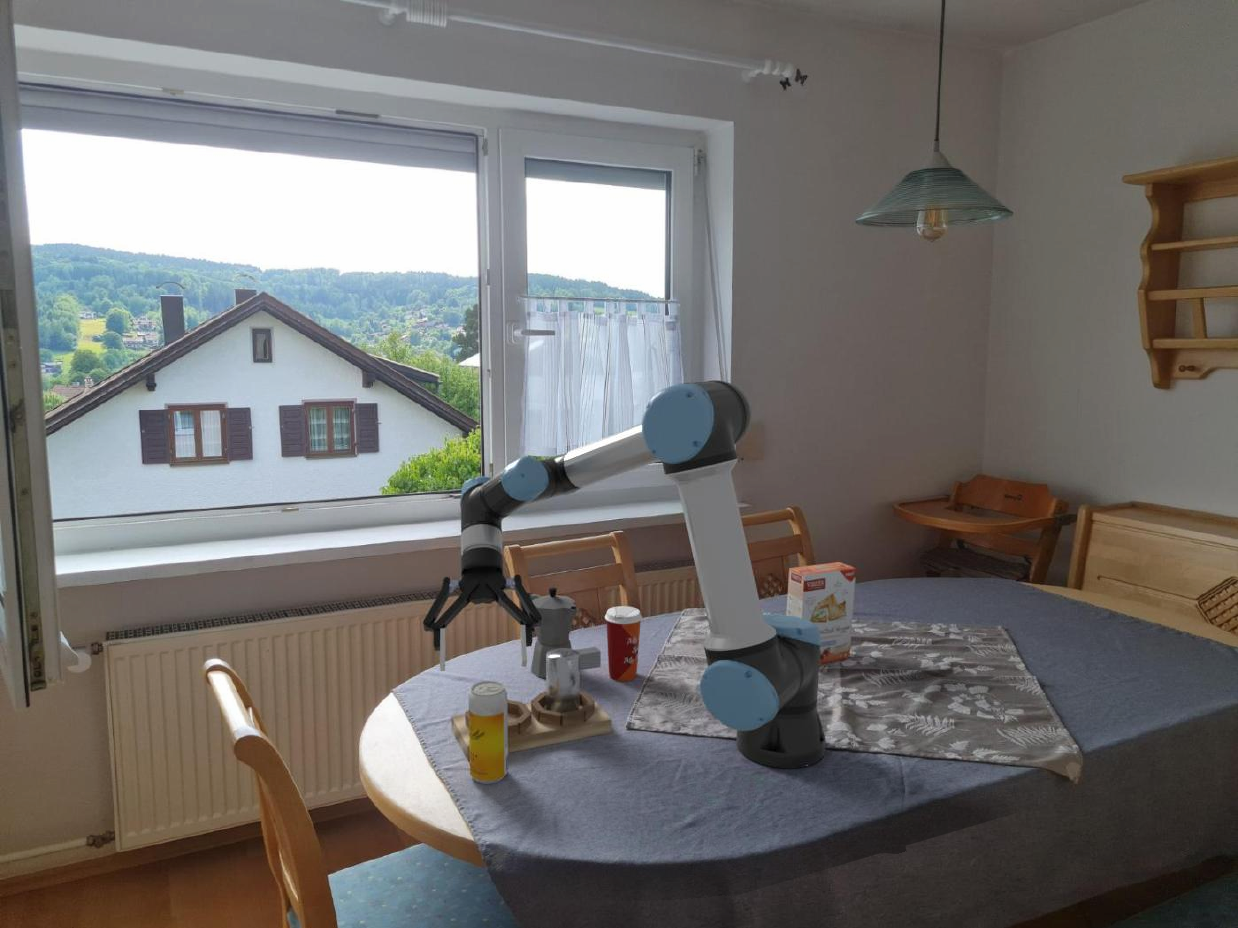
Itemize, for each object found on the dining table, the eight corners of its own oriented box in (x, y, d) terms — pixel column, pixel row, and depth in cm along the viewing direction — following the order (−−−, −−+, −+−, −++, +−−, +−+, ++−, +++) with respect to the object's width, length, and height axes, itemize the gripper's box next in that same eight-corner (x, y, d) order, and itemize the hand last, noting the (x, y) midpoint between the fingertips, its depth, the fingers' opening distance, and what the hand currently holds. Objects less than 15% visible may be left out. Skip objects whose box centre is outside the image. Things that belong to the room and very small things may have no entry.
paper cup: (637, 685, 174) (638, 618, 172) (600, 681, 175) (601, 615, 173) (644, 670, 181) (645, 606, 179) (608, 666, 183) (609, 603, 181)
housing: (611, 732, 154) (611, 708, 153) (467, 760, 143) (467, 735, 143) (586, 705, 165) (586, 682, 164) (451, 729, 154) (451, 705, 153)
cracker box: (799, 669, 183) (804, 574, 179) (782, 659, 188) (786, 567, 185) (851, 659, 188) (857, 567, 185) (834, 649, 194) (839, 560, 190)
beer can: (471, 766, 141) (470, 680, 139) (508, 765, 142) (508, 679, 140) (468, 786, 136) (466, 696, 133) (507, 784, 136) (506, 695, 134)
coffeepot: (591, 670, 181) (592, 588, 178) (563, 685, 173) (563, 599, 170) (535, 654, 190) (535, 575, 187) (506, 667, 182) (505, 585, 179)
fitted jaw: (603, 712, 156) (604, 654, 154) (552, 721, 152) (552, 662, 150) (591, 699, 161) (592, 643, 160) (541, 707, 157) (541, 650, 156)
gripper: (549, 563, 162) (556, 670, 150) (413, 567, 158) (409, 678, 146) (551, 542, 156) (559, 653, 144) (410, 547, 152) (406, 660, 140)
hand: (483, 665), depth 145 cm, fingers open, 13 cm apart
